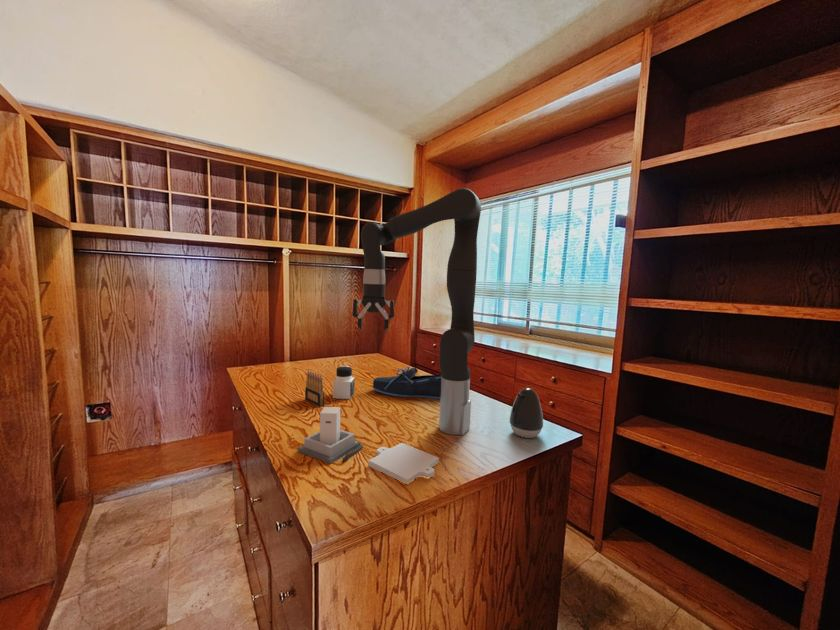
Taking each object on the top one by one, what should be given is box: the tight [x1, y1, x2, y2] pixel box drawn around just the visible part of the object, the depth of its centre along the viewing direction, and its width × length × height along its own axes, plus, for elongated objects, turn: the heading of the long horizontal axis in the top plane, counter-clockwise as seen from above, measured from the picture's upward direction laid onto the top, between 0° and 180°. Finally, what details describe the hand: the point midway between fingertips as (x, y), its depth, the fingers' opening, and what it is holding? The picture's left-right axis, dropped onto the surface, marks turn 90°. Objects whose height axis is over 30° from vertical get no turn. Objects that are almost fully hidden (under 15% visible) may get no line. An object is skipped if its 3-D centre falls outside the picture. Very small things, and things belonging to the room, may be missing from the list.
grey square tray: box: [297, 429, 362, 465], centre depth 96 cm, size 12×12×4 cm
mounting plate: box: [368, 442, 440, 484], centre depth 89 cm, size 18×13×2 cm
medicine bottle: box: [332, 365, 356, 400], centre depth 139 cm, size 7×7×12 cm
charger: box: [319, 406, 341, 446], centre depth 96 cm, size 4×5×10 cm
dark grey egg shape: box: [509, 387, 544, 439], centre depth 109 cm, size 10×10×15 cm
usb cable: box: [342, 444, 364, 462], centre depth 93 cm, size 9×1×1 cm, turn 156°
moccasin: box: [372, 365, 441, 400], centre depth 146 cm, size 14×34×12 cm, turn 88°
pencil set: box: [304, 369, 325, 408], centre depth 130 cm, size 11×2×12 cm, turn 48°
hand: (373, 329), depth 120 cm, fingers open, 8 cm apart
